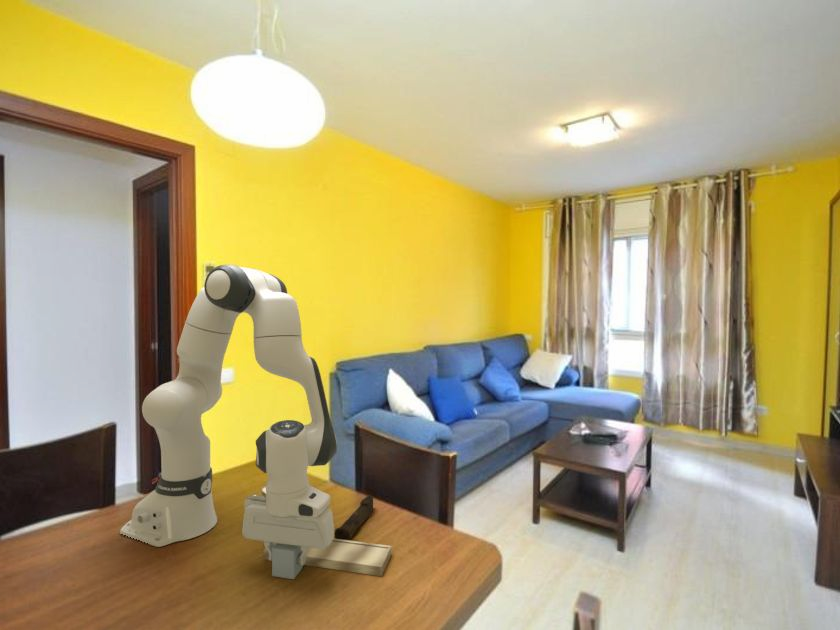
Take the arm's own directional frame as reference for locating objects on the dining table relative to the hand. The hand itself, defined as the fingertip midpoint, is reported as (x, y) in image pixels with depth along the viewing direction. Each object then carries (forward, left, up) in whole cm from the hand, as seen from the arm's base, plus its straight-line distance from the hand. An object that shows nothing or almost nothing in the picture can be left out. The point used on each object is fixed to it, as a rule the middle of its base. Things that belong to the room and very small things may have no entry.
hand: (287, 561), depth 91 cm
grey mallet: (0, +4, -2) cm, 5 cm away
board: (+6, +7, -2) cm, 10 cm away
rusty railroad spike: (+8, +22, -3) cm, 23 cm away
